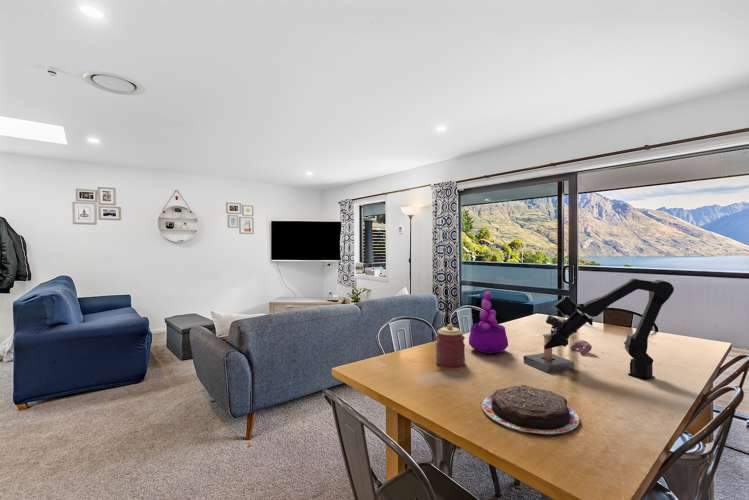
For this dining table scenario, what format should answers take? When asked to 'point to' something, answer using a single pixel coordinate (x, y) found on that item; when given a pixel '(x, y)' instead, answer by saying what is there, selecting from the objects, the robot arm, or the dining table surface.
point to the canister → (450, 347)
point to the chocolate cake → (530, 410)
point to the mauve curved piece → (581, 346)
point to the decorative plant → (488, 330)
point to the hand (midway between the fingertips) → (544, 346)
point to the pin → (547, 351)
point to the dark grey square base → (548, 363)
